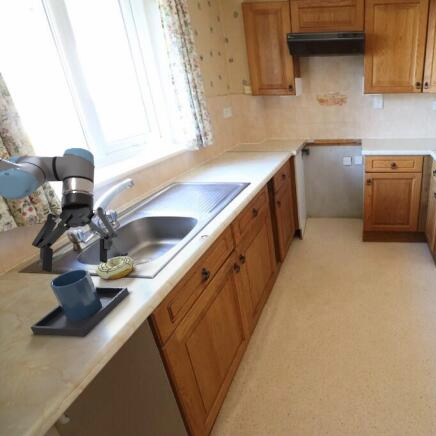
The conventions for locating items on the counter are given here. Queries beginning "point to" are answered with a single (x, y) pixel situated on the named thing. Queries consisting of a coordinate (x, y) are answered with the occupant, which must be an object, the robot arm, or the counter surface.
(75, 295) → the tea cup
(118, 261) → the decorated donut
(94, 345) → the counter surface
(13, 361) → the counter surface
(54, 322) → the serving tray
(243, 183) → the counter surface
